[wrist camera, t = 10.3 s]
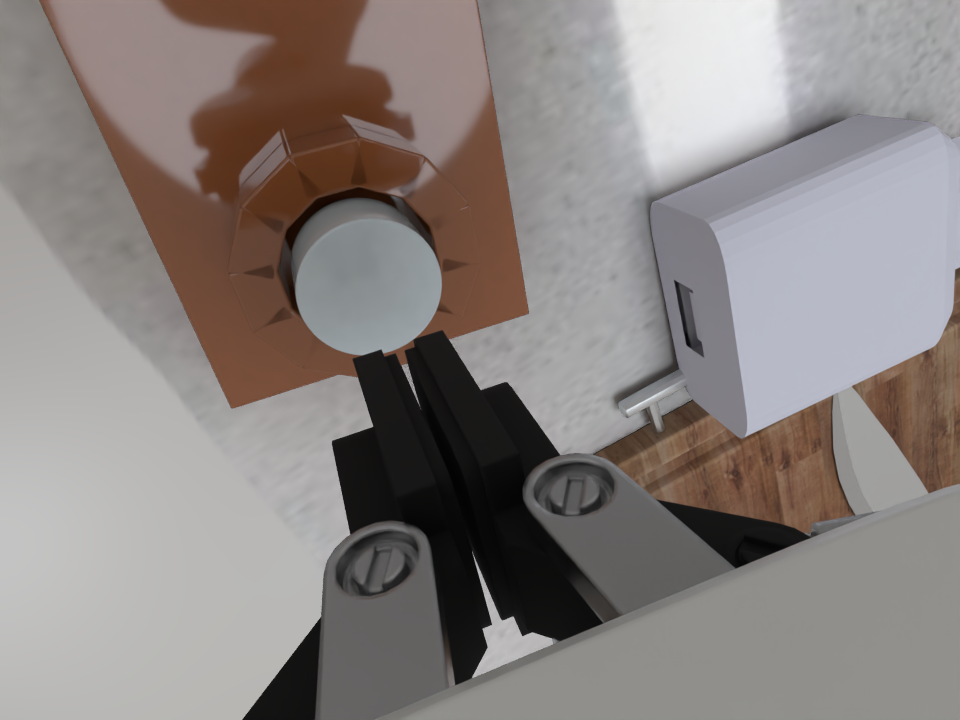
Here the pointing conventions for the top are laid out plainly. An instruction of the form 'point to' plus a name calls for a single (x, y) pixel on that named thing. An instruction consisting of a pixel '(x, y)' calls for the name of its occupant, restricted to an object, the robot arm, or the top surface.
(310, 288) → the round grey push button
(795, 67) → the top surface
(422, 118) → the brown base with collar
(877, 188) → the charger
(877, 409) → the chopping board
